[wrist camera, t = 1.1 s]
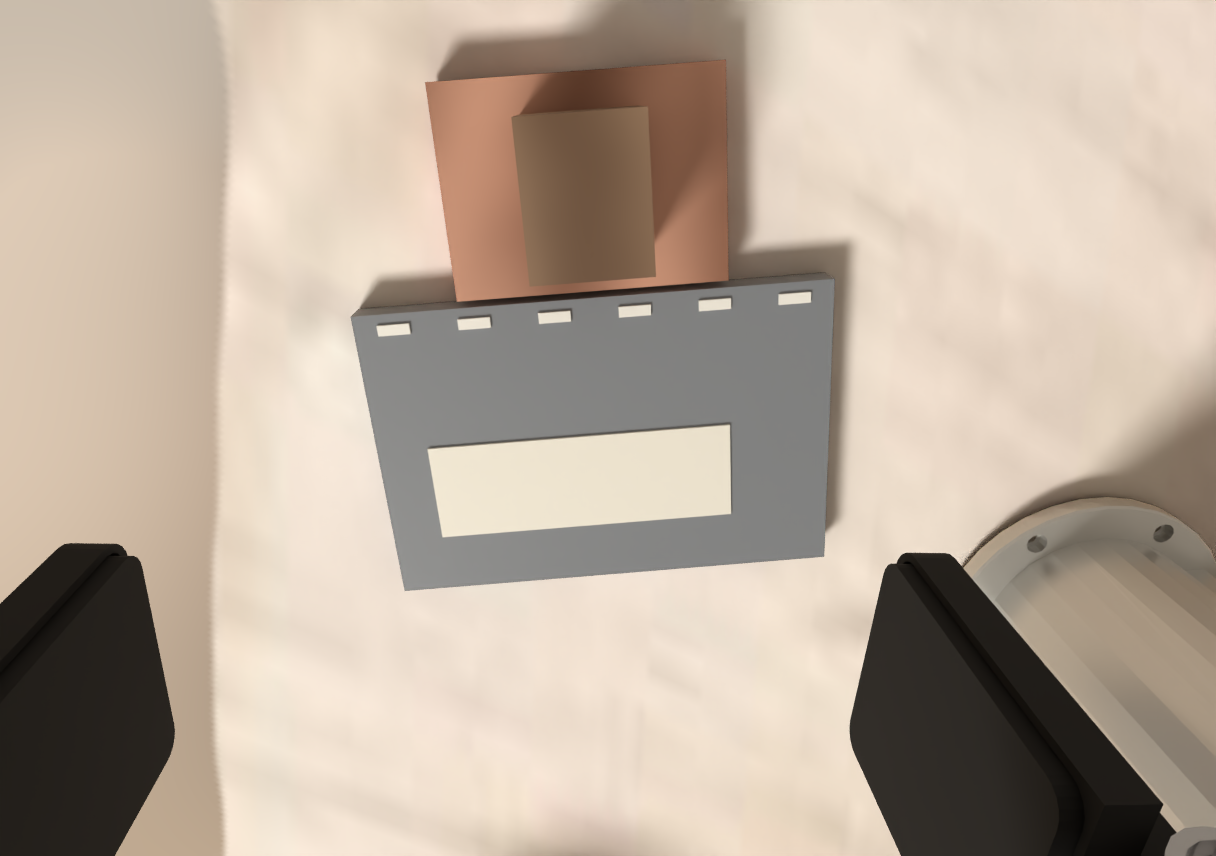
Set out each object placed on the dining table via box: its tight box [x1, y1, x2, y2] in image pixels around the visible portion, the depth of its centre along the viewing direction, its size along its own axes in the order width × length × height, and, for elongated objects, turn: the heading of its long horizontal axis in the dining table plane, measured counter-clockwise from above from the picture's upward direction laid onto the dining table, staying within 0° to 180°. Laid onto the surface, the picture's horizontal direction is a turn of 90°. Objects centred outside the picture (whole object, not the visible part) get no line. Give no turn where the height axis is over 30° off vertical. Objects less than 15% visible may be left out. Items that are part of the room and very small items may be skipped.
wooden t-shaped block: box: [425, 60, 729, 302], centre depth 27 cm, size 10×7×5 cm
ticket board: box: [351, 273, 835, 591], centre depth 33 cm, size 18×12×1 cm, turn 94°
